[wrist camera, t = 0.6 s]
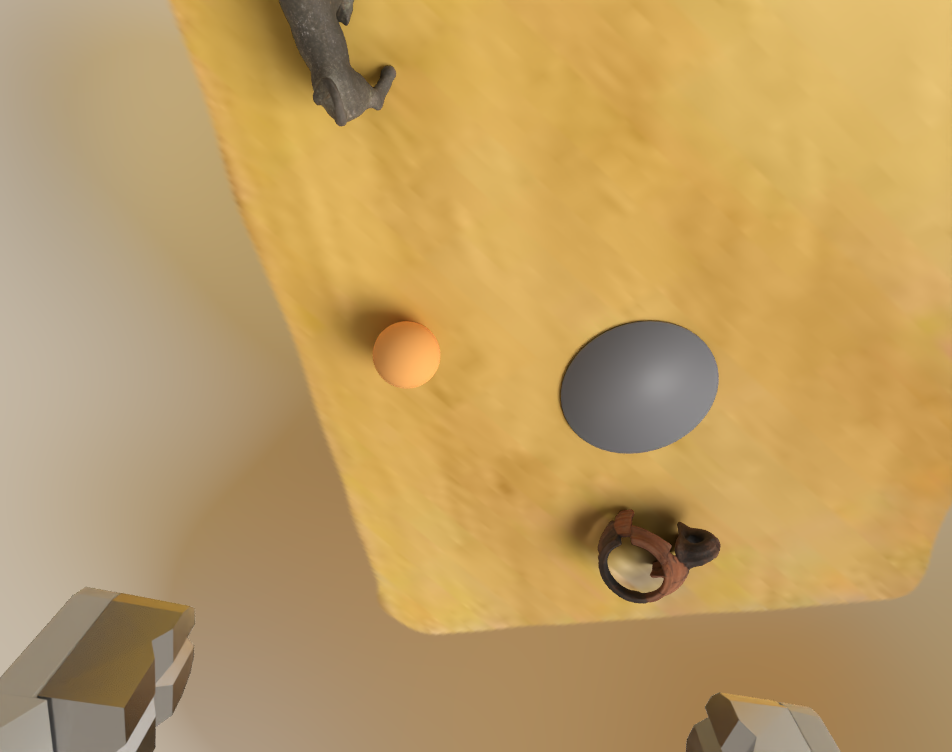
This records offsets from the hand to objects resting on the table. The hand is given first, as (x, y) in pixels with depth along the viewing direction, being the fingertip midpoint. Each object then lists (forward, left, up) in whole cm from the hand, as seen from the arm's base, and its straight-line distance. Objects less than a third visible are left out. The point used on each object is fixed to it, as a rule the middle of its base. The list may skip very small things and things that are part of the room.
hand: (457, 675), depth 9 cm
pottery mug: (+30, +27, -38) cm, 56 cm away
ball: (+14, -2, -35) cm, 38 cm away
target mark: (+14, +19, -38) cm, 44 cm away
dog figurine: (-8, -11, -38) cm, 40 cm away
